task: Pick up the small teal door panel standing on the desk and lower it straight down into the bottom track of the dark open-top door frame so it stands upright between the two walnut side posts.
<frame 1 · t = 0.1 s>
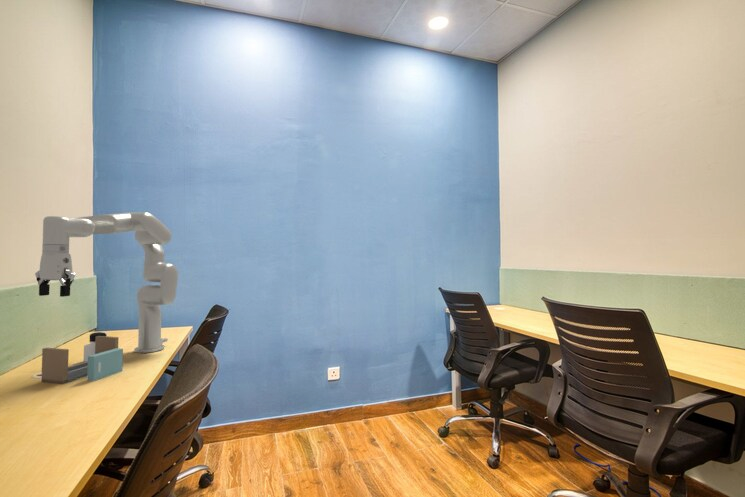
hand: (54, 295, 135), 31 cm above the table, tool pointing down, fingers open, 9 cm apart
door frame: (82, 373, 143), on the table
medicine bottle: (97, 360, 161), on the table
door panel: (105, 375, 141), on the table
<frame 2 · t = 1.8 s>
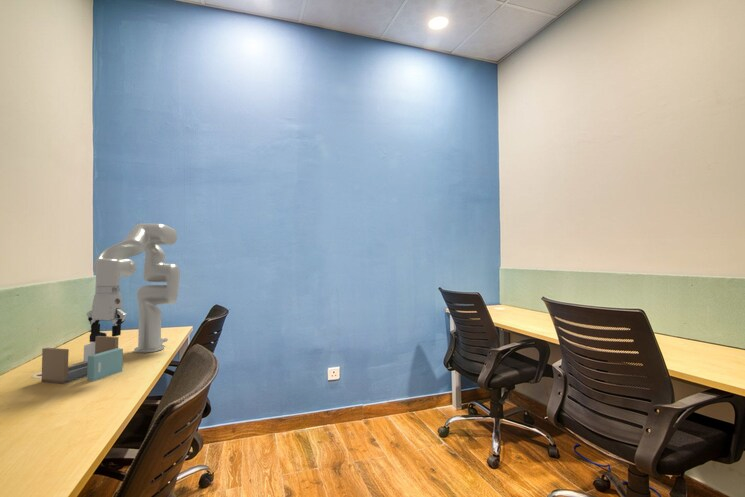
hand: (105, 335, 140), 16 cm above the table, tool pointing down, fingers open, 9 cm apart
nothing on the table moved.
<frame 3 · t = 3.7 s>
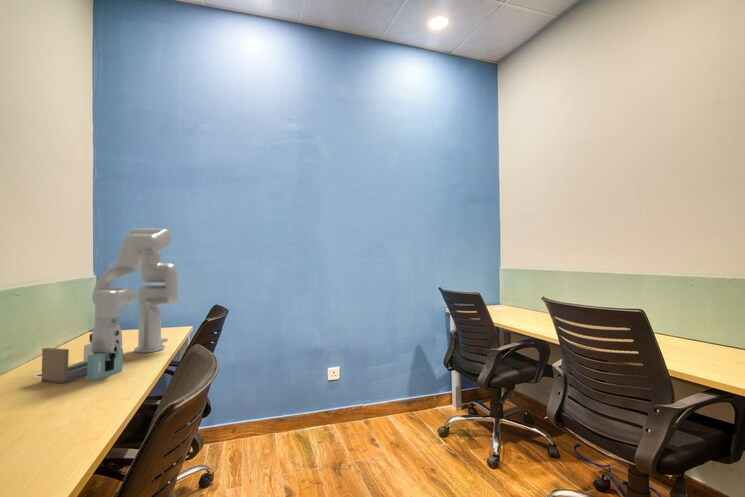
hand: (105, 369, 141), 2 cm above the table, tool pointing down, fingers closed on door panel, 3 cm apart
door panel: (105, 375, 141), on the table, touching gripper
everything else where it was.
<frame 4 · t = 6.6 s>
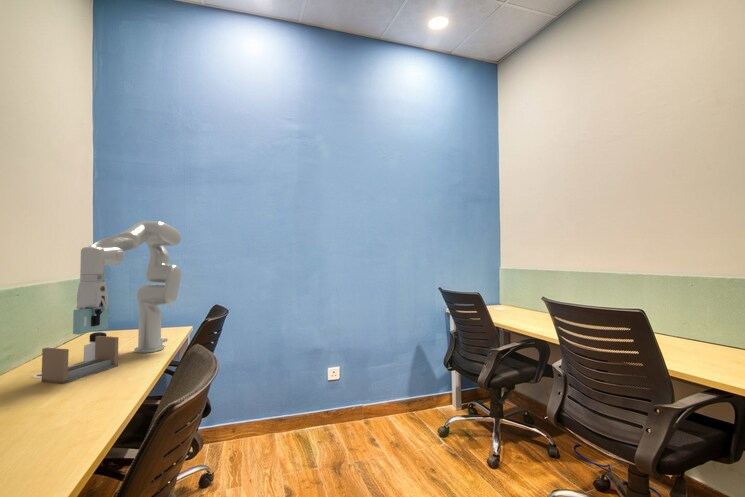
hand: (91, 325, 143), 19 cm above the table, tool pointing down, fingers closed on door panel, 3 cm apart
door panel: (91, 330, 143), point 17 cm above the table, touching gripper
everything else where it was.
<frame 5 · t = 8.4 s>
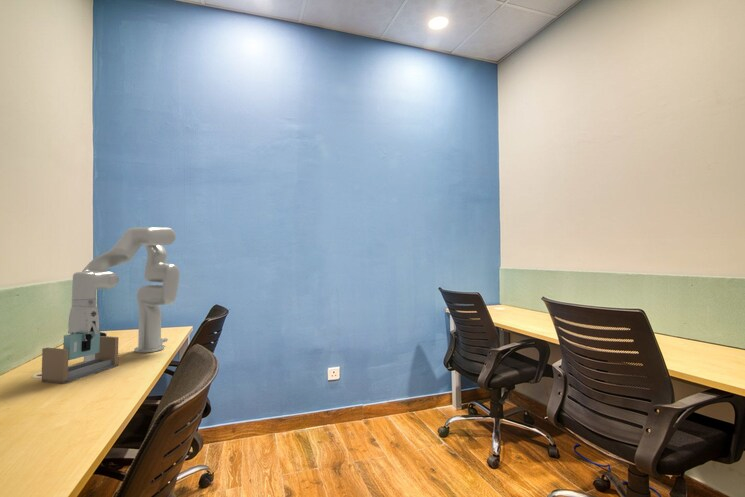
hand: (82, 350, 143), 9 cm above the table, tool pointing down, fingers closed on door panel, 3 cm apart
door panel: (81, 356, 143), point 7 cm above the table, touching gripper
everything else where it was.
when the fingers open (4 cm above the table, at t = 9.9 s): door panel stays where it is, resting on door frame.
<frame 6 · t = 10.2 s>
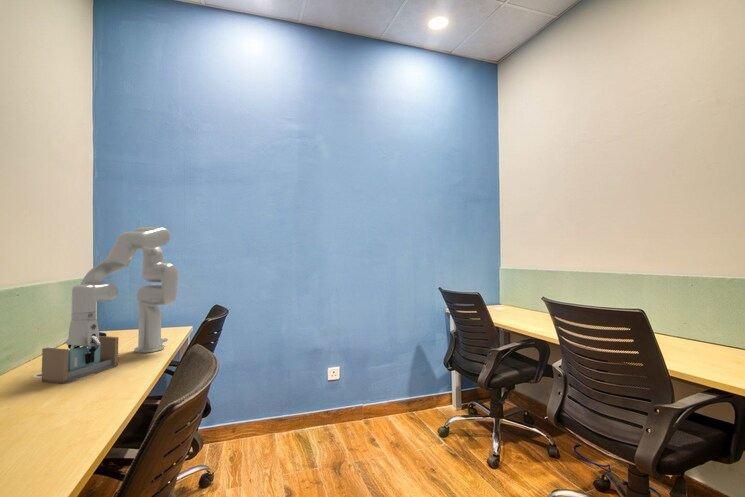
hand: (82, 361, 143), 4 cm above the table, tool pointing down, fingers open, 6 cm apart
door panel: (82, 370, 143), point 1 cm above the table, touching door frame
everything else where it was.
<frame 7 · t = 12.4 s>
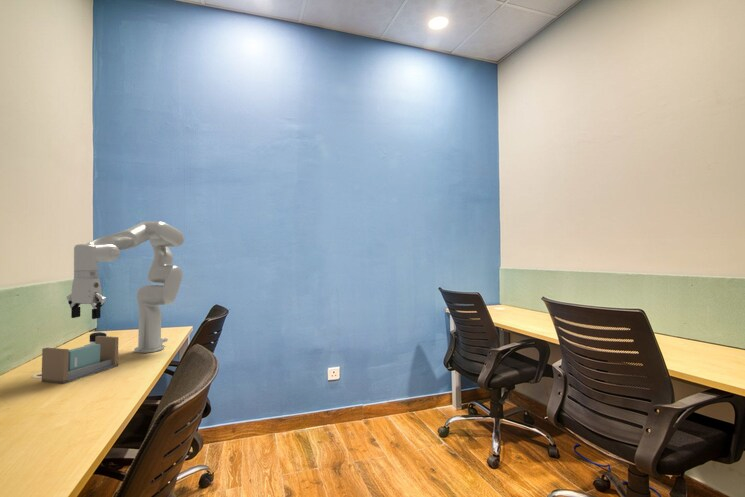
hand: (86, 317, 146), 21 cm above the table, tool pointing down, fingers open, 9 cm apart
nothing on the table moved.
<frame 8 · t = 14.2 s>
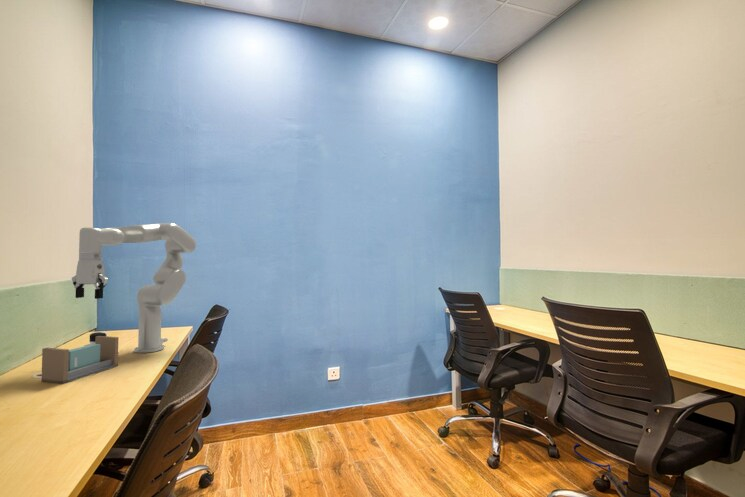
hand: (89, 298, 153), 28 cm above the table, tool pointing down, fingers open, 9 cm apart
nothing on the table moved.
at the end: door panel inside the target area on the door frame (0.0 cm from its centre), point 1.0 cm above the door frame's base; door panel tilted 0°; the gripper is holding nothing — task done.
